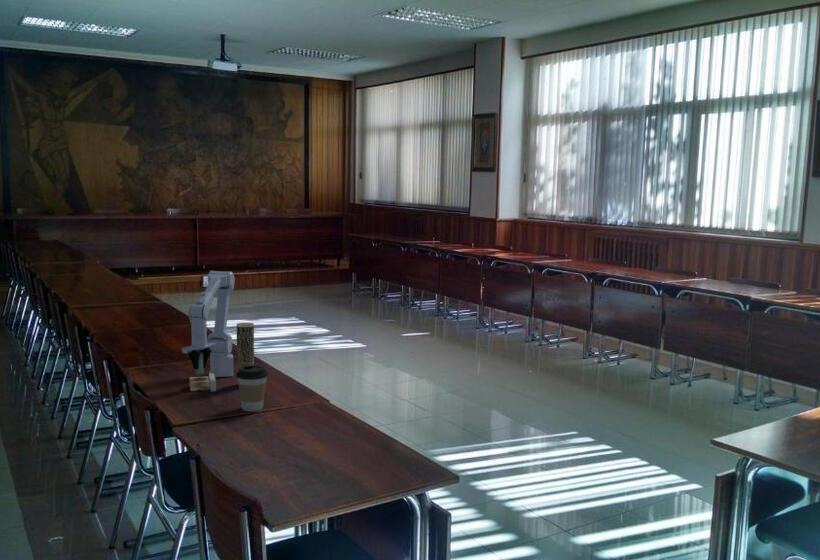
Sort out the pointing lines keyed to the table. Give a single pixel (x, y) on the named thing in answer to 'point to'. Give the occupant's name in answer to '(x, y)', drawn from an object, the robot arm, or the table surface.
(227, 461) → the table surface
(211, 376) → the wall
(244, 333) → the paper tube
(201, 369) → the dowel
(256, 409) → the coffee cup
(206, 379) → the beige hollow square block
